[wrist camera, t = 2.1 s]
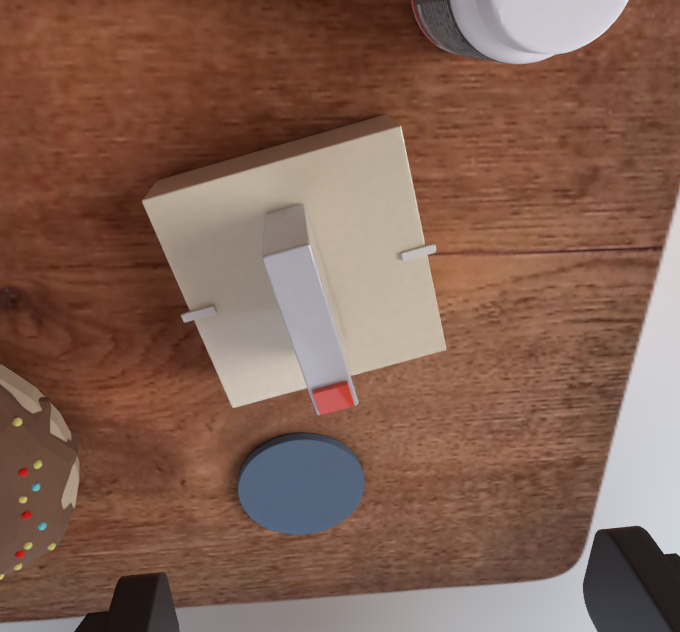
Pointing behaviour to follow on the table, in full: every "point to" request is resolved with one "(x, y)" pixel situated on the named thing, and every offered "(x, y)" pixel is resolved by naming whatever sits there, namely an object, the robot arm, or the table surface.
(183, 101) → the table surface
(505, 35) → the pill bottle
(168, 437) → the table surface
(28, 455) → the donut
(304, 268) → the tap handle
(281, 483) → the coaster
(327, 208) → the base
